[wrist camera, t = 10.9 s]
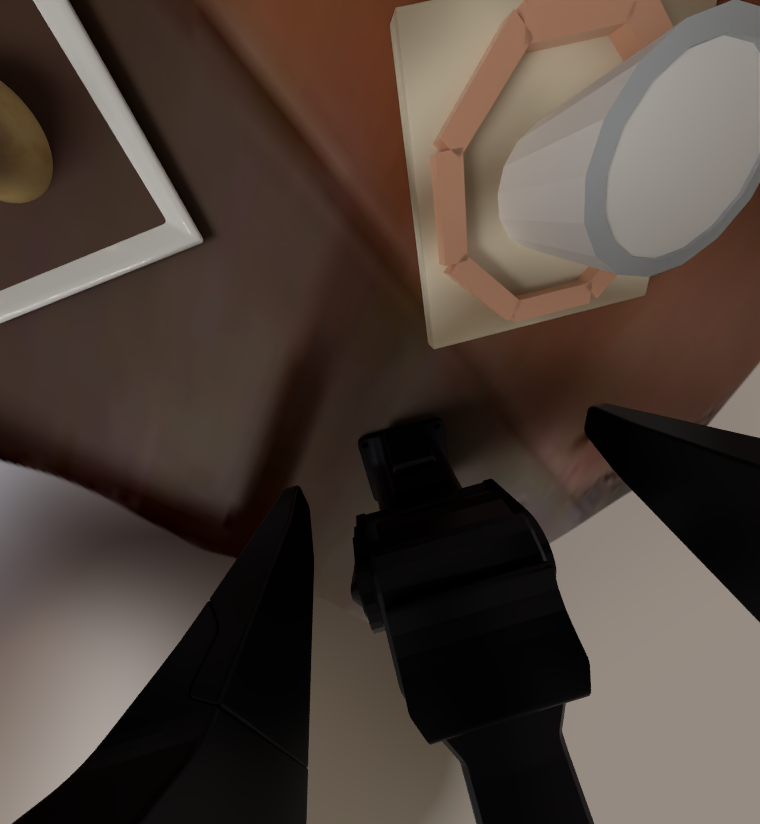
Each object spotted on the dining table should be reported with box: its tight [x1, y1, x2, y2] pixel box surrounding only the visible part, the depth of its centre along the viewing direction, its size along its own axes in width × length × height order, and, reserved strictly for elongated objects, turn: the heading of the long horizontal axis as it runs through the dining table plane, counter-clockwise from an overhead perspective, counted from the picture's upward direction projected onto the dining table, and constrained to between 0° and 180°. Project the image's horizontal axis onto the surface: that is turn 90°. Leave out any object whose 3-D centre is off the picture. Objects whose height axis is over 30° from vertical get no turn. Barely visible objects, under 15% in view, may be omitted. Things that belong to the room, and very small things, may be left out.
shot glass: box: [498, 0, 760, 277], centre depth 13 cm, size 7×7×7 cm
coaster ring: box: [430, 0, 673, 322], centre depth 15 cm, size 12×12×1 cm
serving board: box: [390, 0, 717, 349], centre depth 16 cm, size 14×14×1 cm
